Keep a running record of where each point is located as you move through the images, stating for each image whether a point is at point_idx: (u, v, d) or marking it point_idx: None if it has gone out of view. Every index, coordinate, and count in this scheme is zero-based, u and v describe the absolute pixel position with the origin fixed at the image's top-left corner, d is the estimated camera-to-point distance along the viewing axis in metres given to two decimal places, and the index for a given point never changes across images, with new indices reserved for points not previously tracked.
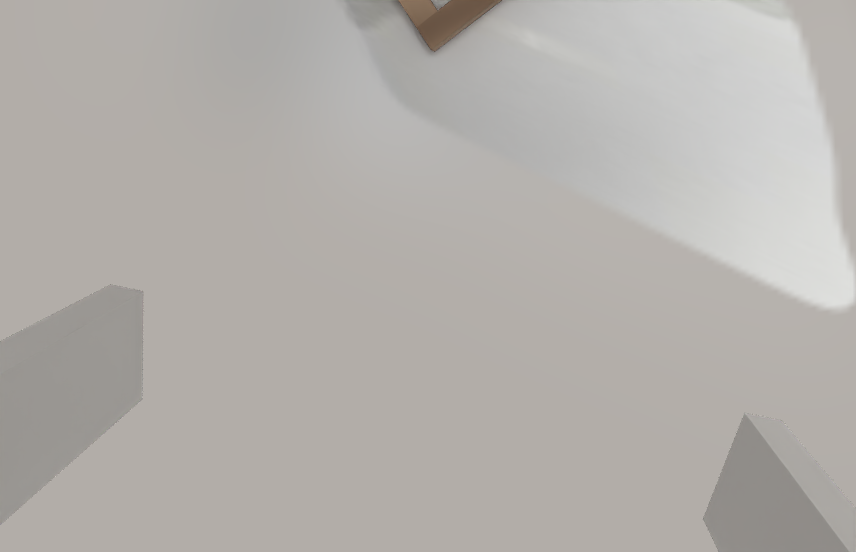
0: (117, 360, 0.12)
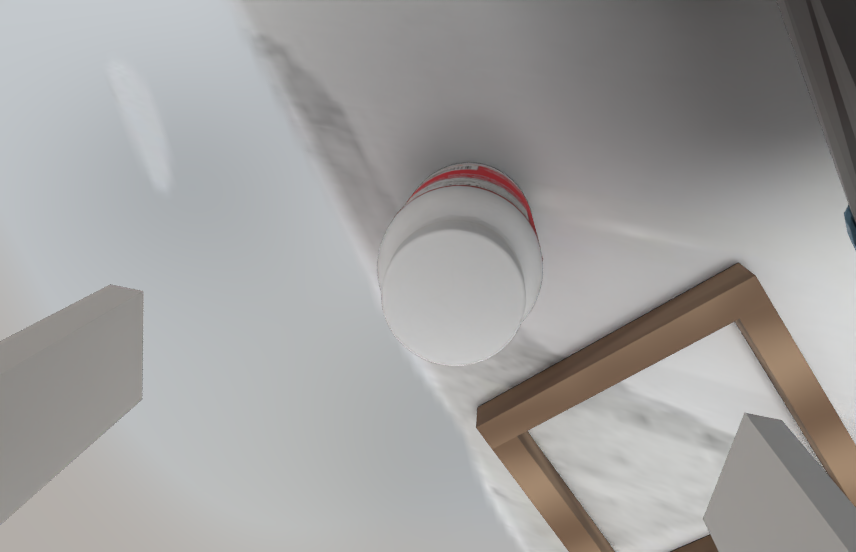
0: (117, 360, 0.12)
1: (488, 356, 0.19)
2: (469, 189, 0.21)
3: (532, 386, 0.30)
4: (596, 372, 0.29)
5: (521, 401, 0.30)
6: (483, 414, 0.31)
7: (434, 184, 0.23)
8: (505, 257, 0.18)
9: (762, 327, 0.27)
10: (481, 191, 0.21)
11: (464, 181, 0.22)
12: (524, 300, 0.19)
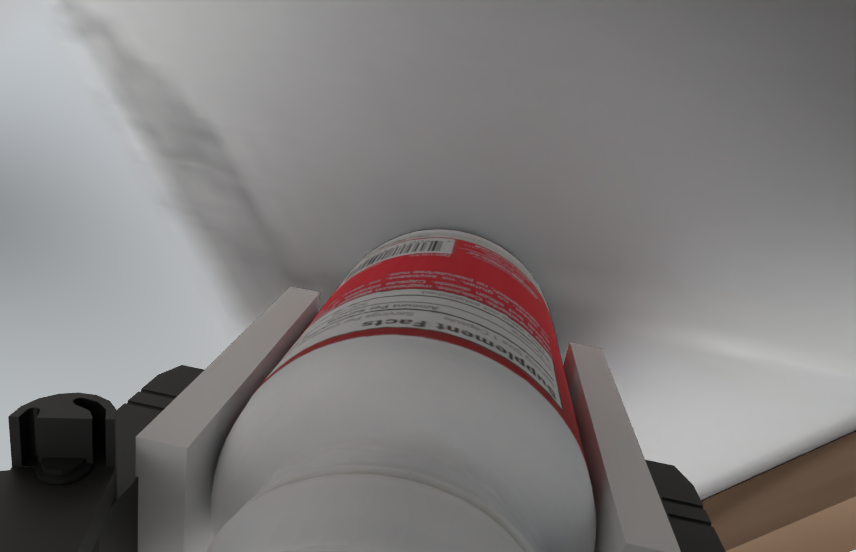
0: None
1: None
2: (418, 351, 0.08)
3: None
4: None
5: None
6: None
7: (352, 306, 0.11)
8: None
9: None
10: (448, 355, 0.08)
11: (414, 308, 0.10)
12: None
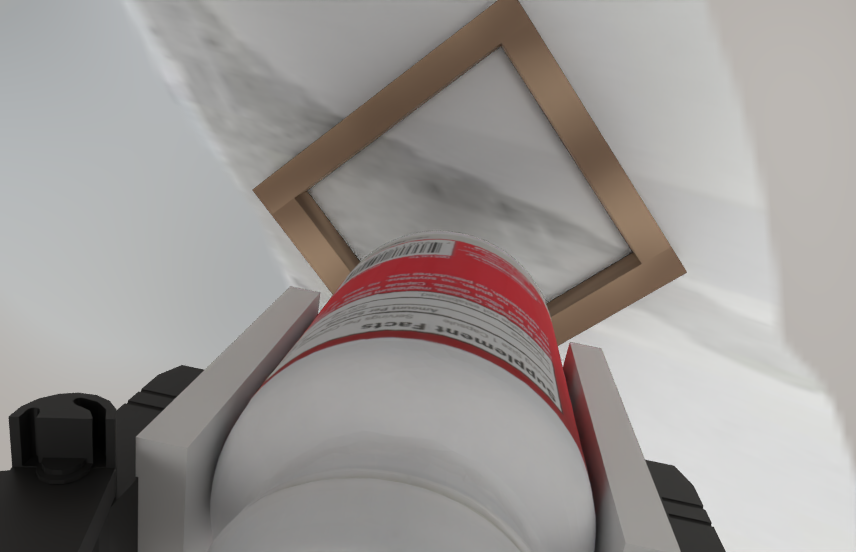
0: None
1: None
2: (417, 353, 0.08)
3: None
4: (365, 116, 0.27)
5: None
6: None
7: (352, 309, 0.11)
8: None
9: (525, 52, 0.26)
10: (447, 358, 0.08)
11: (414, 311, 0.10)
12: None
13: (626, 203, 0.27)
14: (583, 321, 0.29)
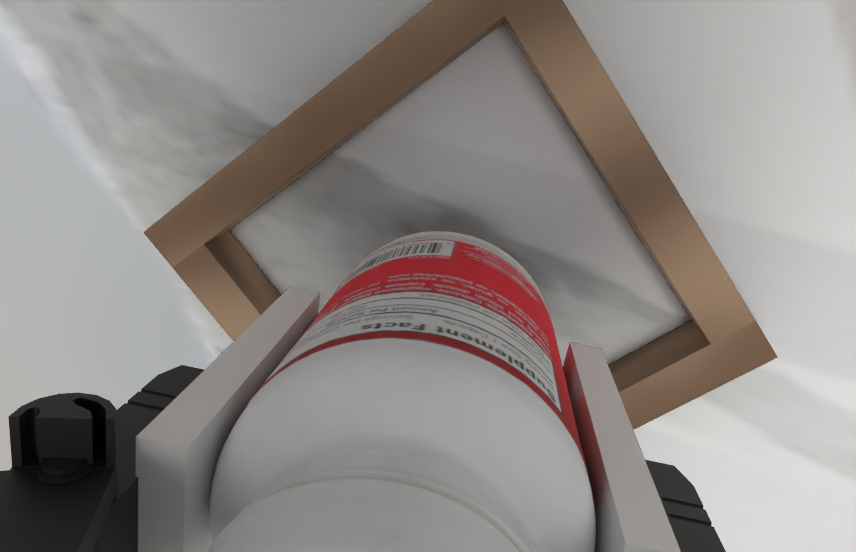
0: None
1: None
2: (417, 354, 0.08)
3: None
4: (301, 127, 0.18)
5: (202, 185, 0.19)
6: None
7: (352, 309, 0.11)
8: None
9: (541, 29, 0.17)
10: (447, 359, 0.08)
11: (414, 311, 0.10)
12: None
13: (690, 257, 0.18)
14: None
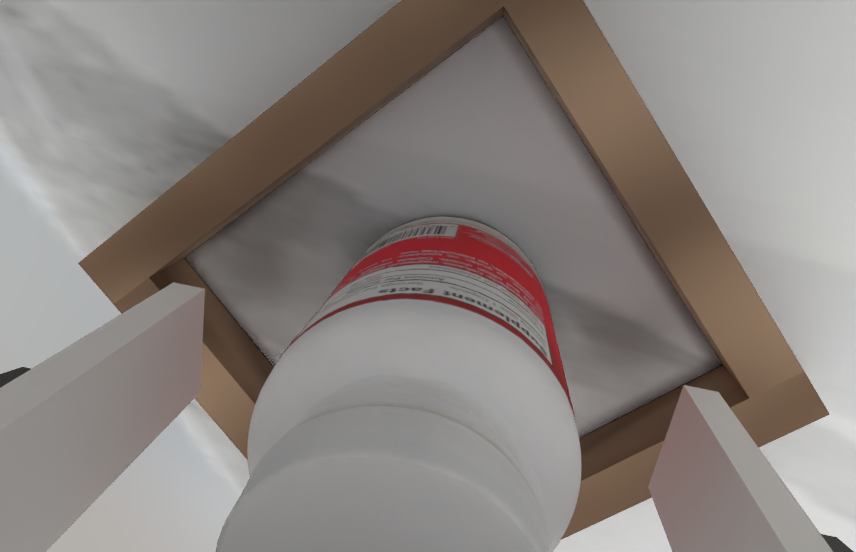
0: (182, 354, 0.13)
1: None
2: (428, 311, 0.10)
3: None
4: (260, 140, 0.15)
5: (145, 209, 0.16)
6: None
7: (368, 279, 0.12)
8: (505, 524, 0.07)
9: (549, 23, 0.14)
10: (453, 315, 0.10)
11: (423, 279, 0.11)
12: None
13: (727, 296, 0.15)
14: (642, 486, 0.17)
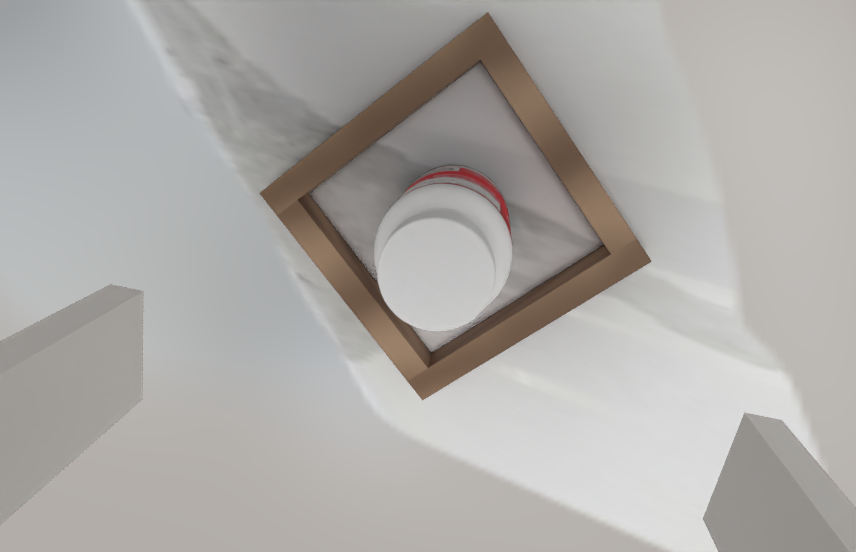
0: (117, 360, 0.12)
1: (466, 322, 0.23)
2: (449, 186, 0.25)
3: None
4: (360, 126, 0.30)
5: (297, 163, 0.31)
6: None
7: (421, 183, 0.27)
8: (477, 240, 0.22)
9: (501, 66, 0.29)
10: (459, 187, 0.25)
11: (446, 180, 0.26)
12: (494, 275, 0.23)
13: (595, 200, 0.30)
14: (560, 307, 0.32)
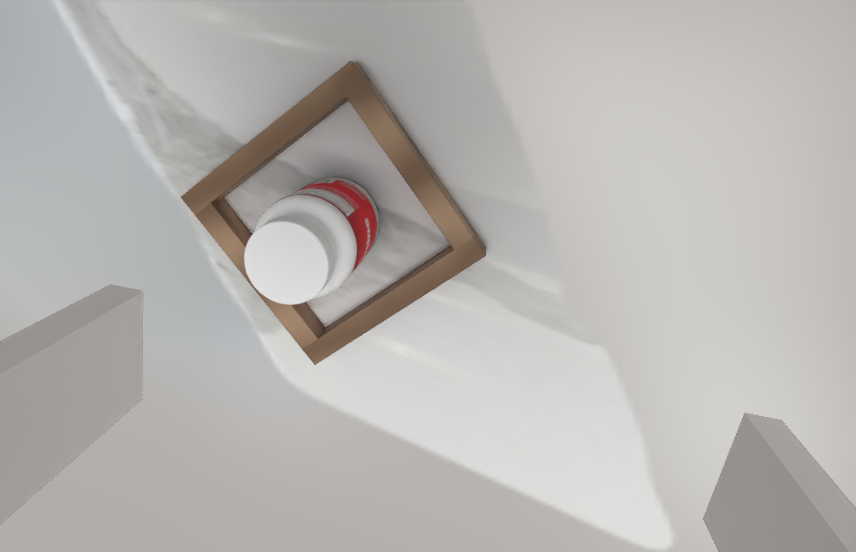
0: (117, 360, 0.12)
1: (309, 298, 0.32)
2: (305, 197, 0.33)
3: None
4: (256, 146, 0.39)
5: (210, 173, 0.40)
6: None
7: None
8: (314, 238, 0.31)
9: (362, 103, 0.37)
10: (313, 198, 0.33)
11: (309, 191, 0.35)
12: (327, 263, 0.31)
13: (439, 207, 0.39)
14: (418, 291, 0.41)
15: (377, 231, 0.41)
